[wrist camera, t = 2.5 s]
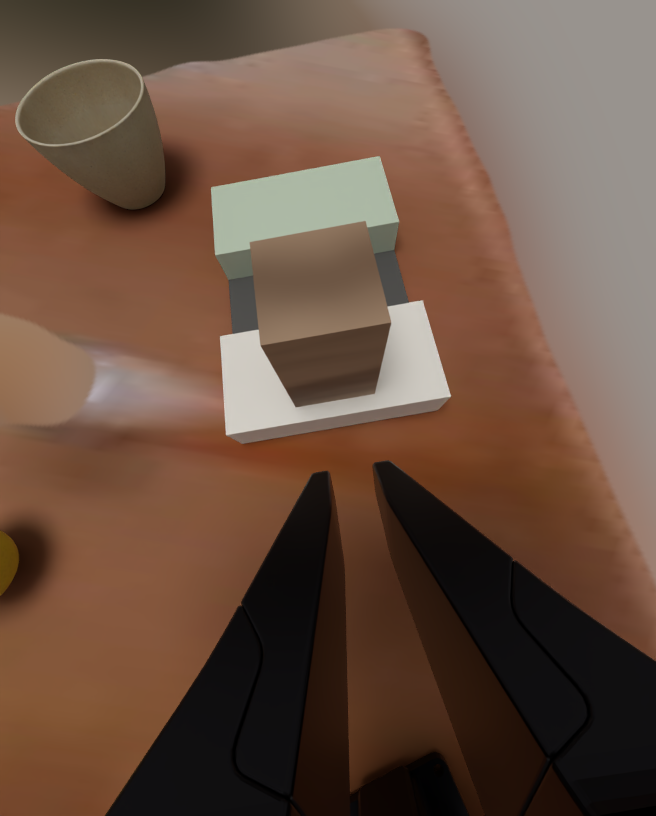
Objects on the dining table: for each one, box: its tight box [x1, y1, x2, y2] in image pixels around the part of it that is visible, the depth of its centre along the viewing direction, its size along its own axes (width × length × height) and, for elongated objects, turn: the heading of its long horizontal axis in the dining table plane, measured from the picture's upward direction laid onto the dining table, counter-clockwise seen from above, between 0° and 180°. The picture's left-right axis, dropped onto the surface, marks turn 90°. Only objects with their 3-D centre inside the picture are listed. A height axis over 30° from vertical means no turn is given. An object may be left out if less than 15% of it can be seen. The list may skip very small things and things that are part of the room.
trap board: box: [211, 156, 451, 444], centre depth 23 cm, size 21×14×3 cm, turn 9°
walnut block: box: [250, 221, 391, 407], centre depth 16 cm, size 5×5×8 cm
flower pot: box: [15, 59, 165, 210], centre depth 27 cm, size 10×10×7 cm
